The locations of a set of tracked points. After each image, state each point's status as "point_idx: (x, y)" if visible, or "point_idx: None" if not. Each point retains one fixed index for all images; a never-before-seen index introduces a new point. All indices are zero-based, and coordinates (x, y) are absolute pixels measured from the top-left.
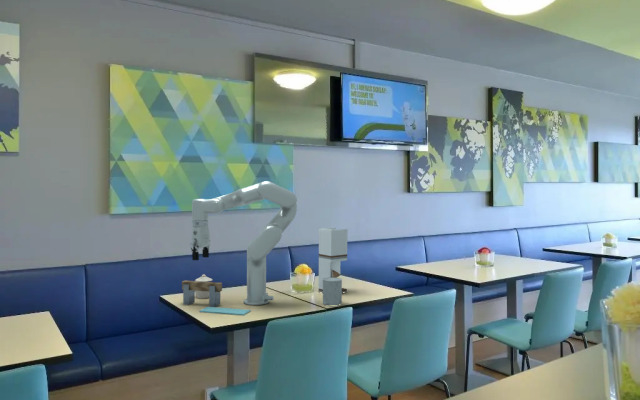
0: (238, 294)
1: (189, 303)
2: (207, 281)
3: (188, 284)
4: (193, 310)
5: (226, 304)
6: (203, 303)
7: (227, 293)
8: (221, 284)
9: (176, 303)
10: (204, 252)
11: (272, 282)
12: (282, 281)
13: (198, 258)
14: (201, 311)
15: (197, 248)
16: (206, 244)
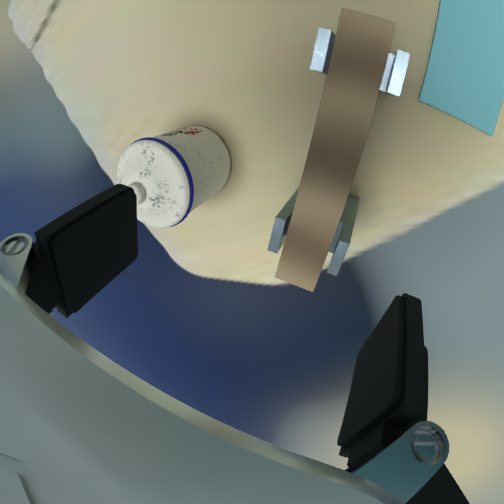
0: (140, 35)
1: (352, 197)
2: (176, 156)
3: (343, 246)
4: (460, 164)
5: (336, 19)
6: None
7: (130, 84)
8: (352, 13)
9: None
10: (94, 268)
11: (17, 30)
12: (11, 14)
13: (413, 310)
14: (494, 126)
15: (412, 494)
16: (27, 375)
